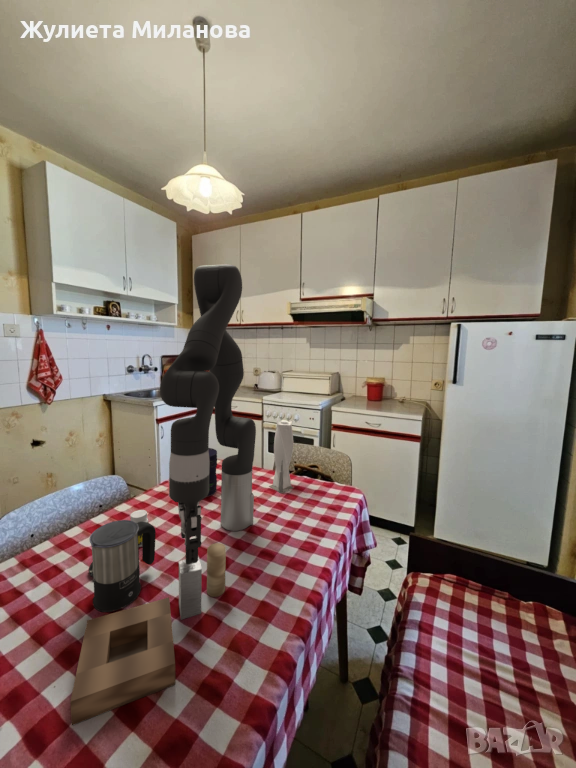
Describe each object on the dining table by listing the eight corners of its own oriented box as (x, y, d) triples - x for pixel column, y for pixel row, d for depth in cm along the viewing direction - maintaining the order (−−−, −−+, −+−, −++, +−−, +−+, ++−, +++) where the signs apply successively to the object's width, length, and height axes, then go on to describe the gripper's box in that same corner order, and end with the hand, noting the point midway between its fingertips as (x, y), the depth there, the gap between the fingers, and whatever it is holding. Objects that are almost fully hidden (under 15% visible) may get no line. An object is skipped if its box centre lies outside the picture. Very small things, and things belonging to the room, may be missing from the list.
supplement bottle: (141, 549, 82) (140, 519, 81) (125, 546, 83) (124, 517, 82) (152, 538, 87) (152, 510, 85) (137, 535, 87) (136, 507, 86)
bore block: (169, 614, 63) (169, 597, 62) (175, 684, 50) (175, 663, 50) (88, 639, 57) (87, 620, 56) (71, 725, 44) (70, 701, 44)
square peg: (198, 598, 67) (198, 556, 66) (201, 613, 64) (201, 569, 62) (178, 604, 65) (178, 561, 64) (180, 619, 62) (180, 574, 61)
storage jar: (213, 498, 110) (213, 457, 108) (185, 496, 110) (185, 456, 108) (219, 485, 120) (220, 448, 118) (194, 484, 120) (194, 447, 118)
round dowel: (222, 581, 72) (223, 541, 71) (226, 593, 69) (227, 552, 67) (205, 585, 71) (205, 545, 69) (208, 599, 67) (209, 556, 66)
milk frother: (120, 617, 62) (118, 549, 60) (53, 603, 65) (49, 537, 63) (162, 567, 76) (161, 511, 74) (105, 557, 78) (103, 502, 76)
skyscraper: (266, 485, 122) (268, 416, 118) (281, 480, 127) (284, 413, 124) (280, 493, 116) (283, 421, 112) (296, 487, 121) (299, 418, 118)
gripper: (216, 484, 56) (214, 567, 58) (203, 457, 69) (202, 526, 71) (171, 490, 53) (171, 578, 55) (167, 461, 66) (167, 532, 67)
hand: (189, 548), depth 63 cm, fingers open, 8 cm apart
